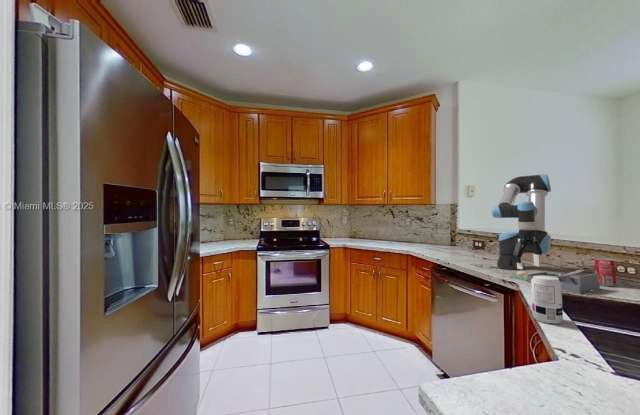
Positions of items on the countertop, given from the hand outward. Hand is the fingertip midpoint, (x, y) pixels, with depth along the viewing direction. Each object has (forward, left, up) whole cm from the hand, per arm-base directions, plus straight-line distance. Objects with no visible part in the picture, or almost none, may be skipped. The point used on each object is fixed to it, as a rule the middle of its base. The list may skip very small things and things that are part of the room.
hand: (528, 267), depth 154 cm
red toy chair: (+24, +19, -6) cm, 31 cm away
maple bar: (-1, 0, -6) cm, 6 cm away
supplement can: (+41, -53, -6) cm, 68 cm away
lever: (+17, 0, -2) cm, 17 cm away
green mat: (-2, 0, -6) cm, 7 cm away
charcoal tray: (+16, 0, -6) cm, 17 cm away
